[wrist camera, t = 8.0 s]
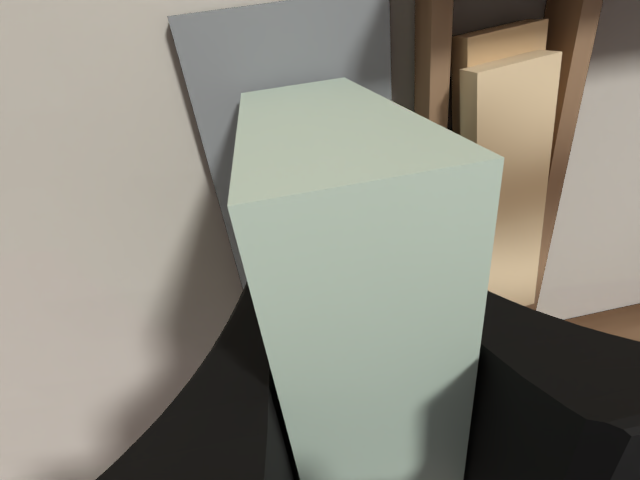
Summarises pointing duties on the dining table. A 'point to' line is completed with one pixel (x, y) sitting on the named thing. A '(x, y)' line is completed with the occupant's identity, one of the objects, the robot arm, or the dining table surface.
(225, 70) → the grey rubber mat
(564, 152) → the walnut rack
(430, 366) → the sage plywood sheet
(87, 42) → the dining table surface
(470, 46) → the middle offcut
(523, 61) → the top offcut
